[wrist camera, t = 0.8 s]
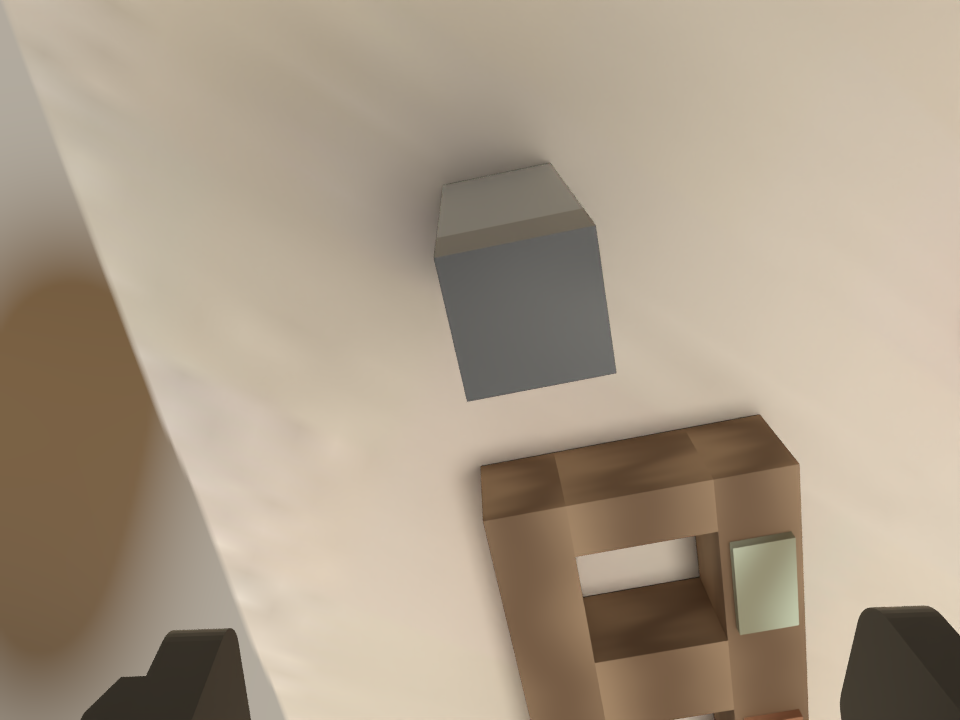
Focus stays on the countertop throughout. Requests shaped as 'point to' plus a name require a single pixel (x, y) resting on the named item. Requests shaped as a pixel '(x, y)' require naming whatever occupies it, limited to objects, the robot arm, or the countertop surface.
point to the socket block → (664, 607)
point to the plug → (521, 283)
